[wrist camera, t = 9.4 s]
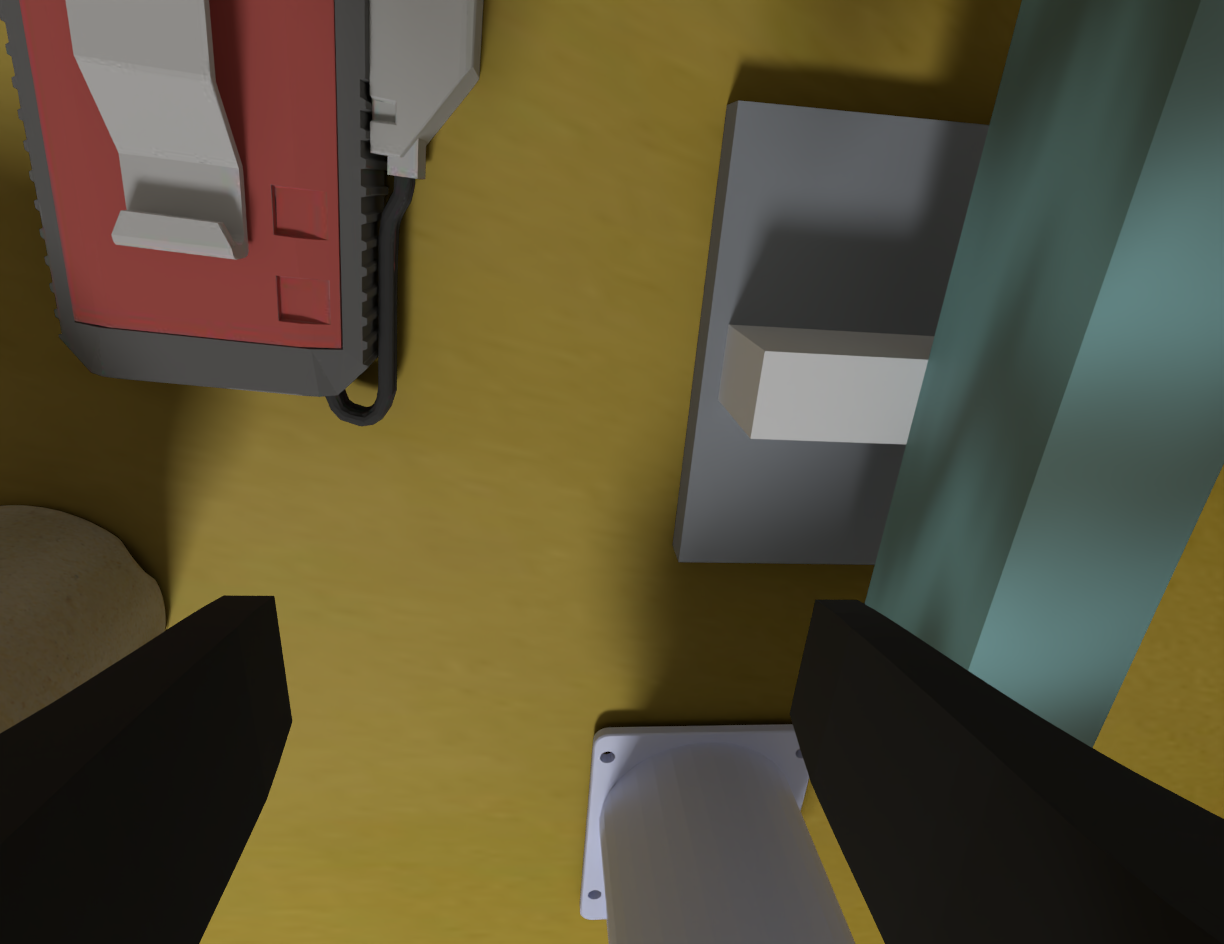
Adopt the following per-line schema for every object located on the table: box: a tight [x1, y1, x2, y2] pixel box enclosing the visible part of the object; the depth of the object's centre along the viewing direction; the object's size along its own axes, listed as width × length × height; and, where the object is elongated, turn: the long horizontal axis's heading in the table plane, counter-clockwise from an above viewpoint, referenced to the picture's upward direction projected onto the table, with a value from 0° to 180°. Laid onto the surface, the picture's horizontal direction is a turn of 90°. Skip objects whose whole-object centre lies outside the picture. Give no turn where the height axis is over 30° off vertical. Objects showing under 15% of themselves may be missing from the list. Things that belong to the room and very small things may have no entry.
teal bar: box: [865, 0, 1224, 747], centre depth 14 cm, size 16×4×4 cm, turn 176°
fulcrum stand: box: [673, 100, 989, 565], centre depth 17 cm, size 12×12×4 cm
